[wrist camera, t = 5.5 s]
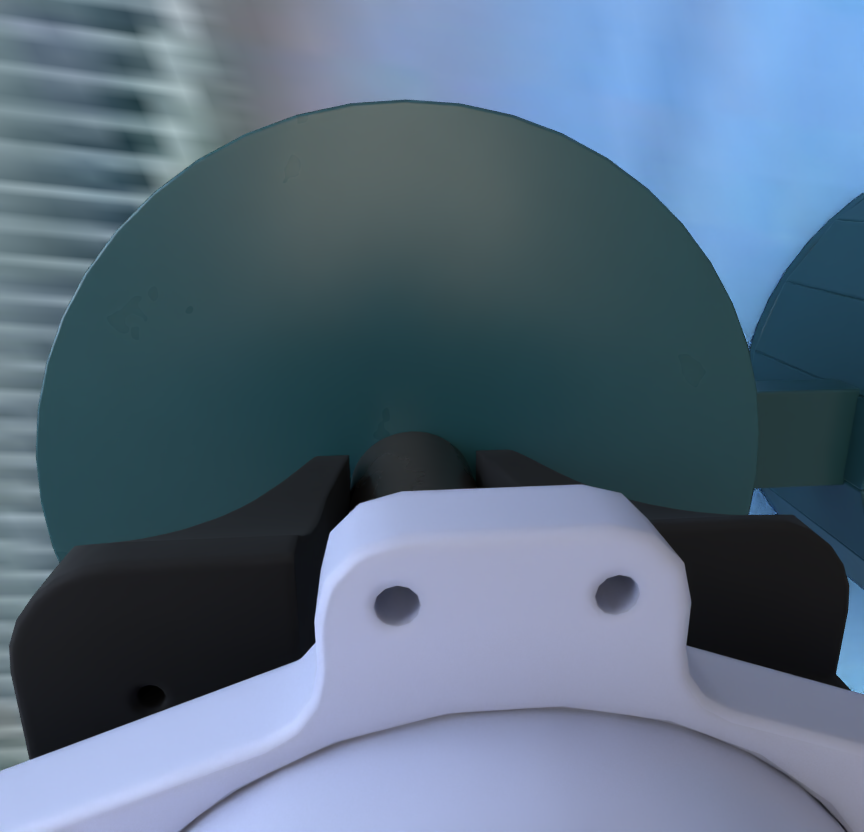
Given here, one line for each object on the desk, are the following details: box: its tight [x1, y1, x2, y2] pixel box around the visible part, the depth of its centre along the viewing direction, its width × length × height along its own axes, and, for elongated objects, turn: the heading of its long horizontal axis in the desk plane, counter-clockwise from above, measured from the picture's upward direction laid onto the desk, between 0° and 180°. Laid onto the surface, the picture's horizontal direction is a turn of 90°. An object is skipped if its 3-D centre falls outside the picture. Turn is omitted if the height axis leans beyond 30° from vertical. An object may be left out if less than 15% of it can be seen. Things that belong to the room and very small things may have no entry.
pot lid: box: [36, 100, 760, 563], centre depth 13 cm, size 14×14×4 cm
